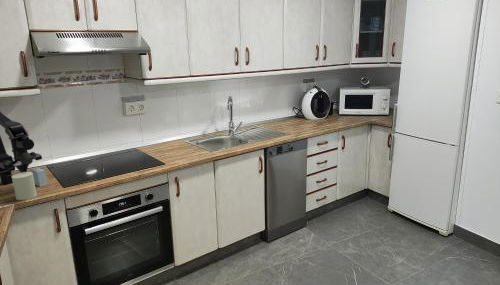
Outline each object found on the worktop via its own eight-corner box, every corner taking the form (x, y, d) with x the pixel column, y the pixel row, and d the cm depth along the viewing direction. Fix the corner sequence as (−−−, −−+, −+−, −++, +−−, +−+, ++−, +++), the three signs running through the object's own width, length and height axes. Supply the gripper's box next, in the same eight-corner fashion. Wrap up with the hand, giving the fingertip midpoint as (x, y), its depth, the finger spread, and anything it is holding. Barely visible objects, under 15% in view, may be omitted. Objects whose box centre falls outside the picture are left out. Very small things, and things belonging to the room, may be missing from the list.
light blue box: (33, 184, 199) (30, 170, 197) (40, 181, 203) (38, 168, 200) (40, 186, 196) (37, 172, 193) (47, 183, 199) (44, 170, 197)
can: (40, 192, 187) (35, 170, 184) (32, 199, 178) (28, 176, 175) (21, 193, 186) (16, 171, 183) (12, 201, 177) (7, 177, 174)
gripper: (6, 154, 176) (13, 184, 180) (44, 145, 191) (50, 173, 195) (-5, 151, 182) (2, 180, 186) (34, 142, 197) (39, 170, 201)
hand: (24, 176), depth 192 cm, fingers closed
